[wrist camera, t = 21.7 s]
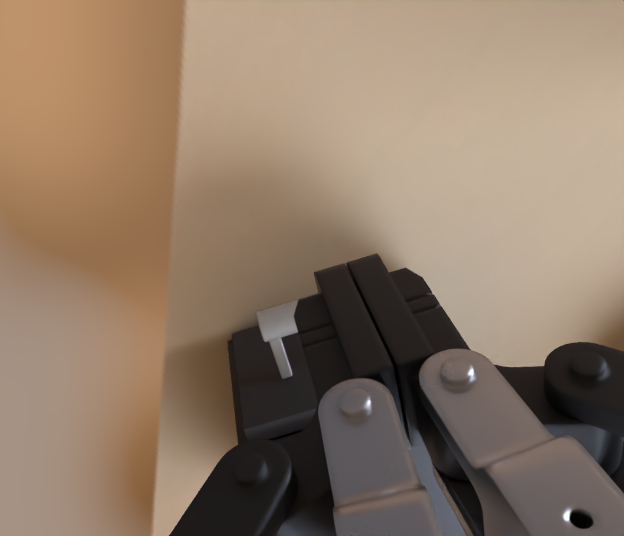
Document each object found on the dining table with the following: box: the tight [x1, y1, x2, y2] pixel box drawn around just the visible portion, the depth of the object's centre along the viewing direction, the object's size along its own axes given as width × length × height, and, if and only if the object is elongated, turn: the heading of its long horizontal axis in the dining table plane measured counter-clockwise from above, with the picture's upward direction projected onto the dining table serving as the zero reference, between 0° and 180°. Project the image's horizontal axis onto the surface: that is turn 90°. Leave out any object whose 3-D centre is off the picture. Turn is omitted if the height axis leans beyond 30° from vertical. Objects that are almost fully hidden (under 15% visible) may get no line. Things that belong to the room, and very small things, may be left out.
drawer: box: [232, 293, 319, 441], centre depth 35 cm, size 19×11×8 cm, turn 12°
